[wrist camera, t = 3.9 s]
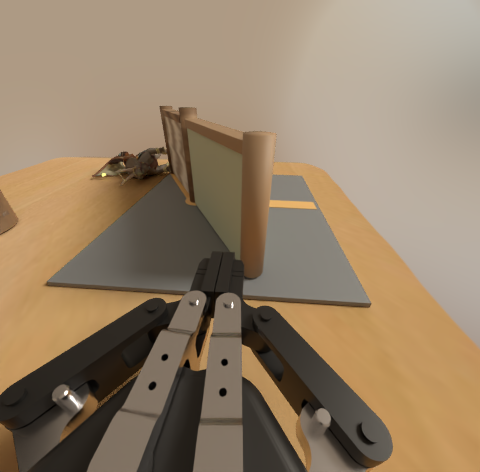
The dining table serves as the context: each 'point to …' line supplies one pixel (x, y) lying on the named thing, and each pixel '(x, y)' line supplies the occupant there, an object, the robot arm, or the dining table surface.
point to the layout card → (217, 249)
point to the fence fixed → (179, 144)
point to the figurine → (135, 164)
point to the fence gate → (233, 186)
